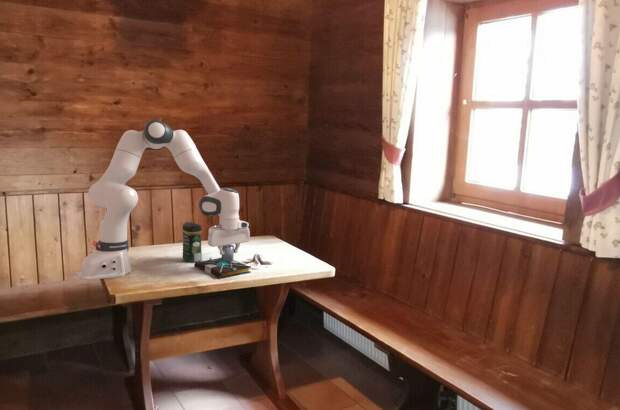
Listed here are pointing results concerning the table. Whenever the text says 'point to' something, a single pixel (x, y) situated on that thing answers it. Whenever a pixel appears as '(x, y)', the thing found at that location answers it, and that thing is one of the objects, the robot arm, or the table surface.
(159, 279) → the table surface
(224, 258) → the grey short cylinder
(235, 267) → the book
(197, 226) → the coffee jar
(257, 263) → the cloth
